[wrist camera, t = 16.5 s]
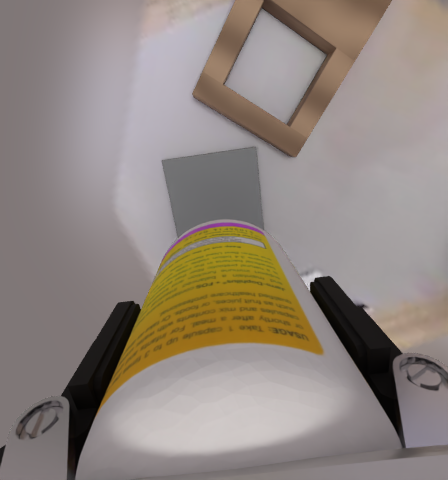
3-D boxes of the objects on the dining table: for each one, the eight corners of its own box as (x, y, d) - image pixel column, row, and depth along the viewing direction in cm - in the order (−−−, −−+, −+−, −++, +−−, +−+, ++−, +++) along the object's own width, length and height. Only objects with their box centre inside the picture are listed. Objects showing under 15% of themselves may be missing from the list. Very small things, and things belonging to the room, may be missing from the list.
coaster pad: (255, 146, 35) (256, 146, 34) (263, 234, 39) (264, 236, 38) (162, 160, 35) (161, 160, 34) (180, 246, 39) (180, 248, 38)
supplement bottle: (134, 273, 14) (-354, 1067, 2) (230, 187, 13) (517, 1045, 1) (221, 349, 16) (238, 1007, 4) (313, 280, 15) (794, 964, 2)
